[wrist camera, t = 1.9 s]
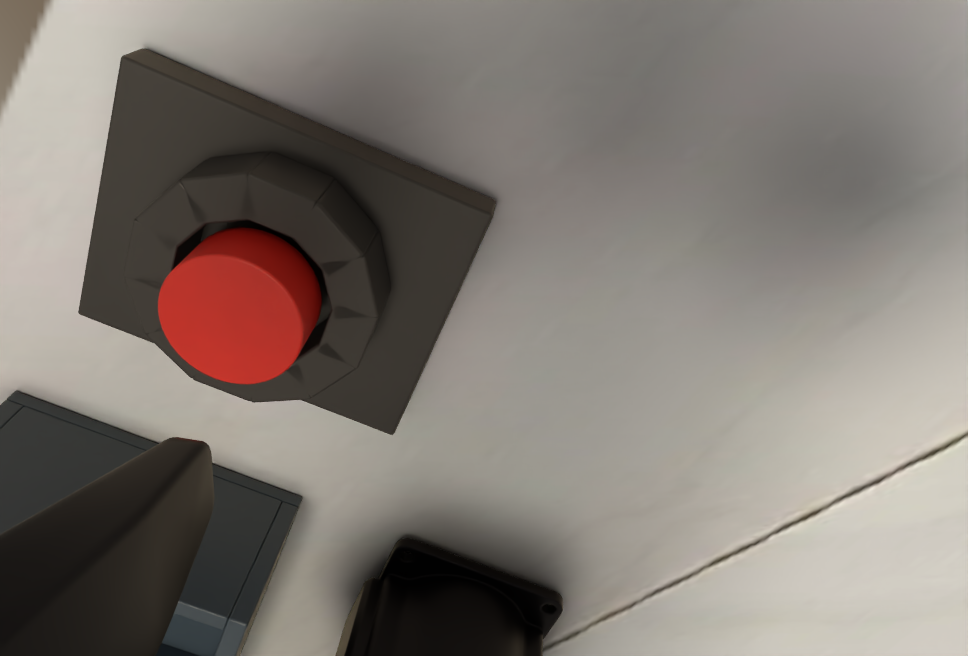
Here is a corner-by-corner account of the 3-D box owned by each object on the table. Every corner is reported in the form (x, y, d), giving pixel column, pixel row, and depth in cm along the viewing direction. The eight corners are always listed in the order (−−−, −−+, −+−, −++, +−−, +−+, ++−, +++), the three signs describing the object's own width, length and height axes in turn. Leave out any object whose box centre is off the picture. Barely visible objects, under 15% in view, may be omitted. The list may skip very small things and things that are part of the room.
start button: (339, 260, 20) (321, 291, 18) (301, 368, 21) (281, 405, 20) (203, 204, 19) (172, 230, 18) (174, 319, 21) (144, 352, 20)
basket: (303, 497, 27) (247, 625, 23) (235, 665, 32) (178, 800, 27) (15, 390, 26) (-108, 501, 21) (-9, 582, 31) (-114, 707, 26)
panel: (497, 199, 21) (487, 242, 19) (400, 414, 25) (381, 474, 23) (142, 46, 20) (80, 69, 18) (97, 296, 24) (41, 345, 21)
